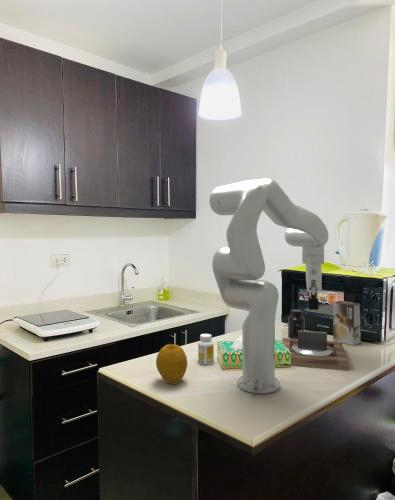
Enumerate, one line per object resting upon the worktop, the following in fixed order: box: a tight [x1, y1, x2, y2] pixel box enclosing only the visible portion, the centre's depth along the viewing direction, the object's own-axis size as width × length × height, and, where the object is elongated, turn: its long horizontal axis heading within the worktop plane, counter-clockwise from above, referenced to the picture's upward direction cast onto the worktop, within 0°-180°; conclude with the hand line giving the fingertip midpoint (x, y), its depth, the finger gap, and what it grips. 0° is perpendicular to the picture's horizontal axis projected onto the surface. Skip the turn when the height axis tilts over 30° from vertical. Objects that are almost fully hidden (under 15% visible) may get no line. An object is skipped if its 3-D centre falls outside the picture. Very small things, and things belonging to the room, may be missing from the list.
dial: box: [292, 330, 333, 357], centre depth 138 cm, size 14×14×8 cm
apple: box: [155, 343, 188, 384], centre depth 117 cm, size 10×10×12 cm
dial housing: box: [281, 337, 349, 371], centre depth 139 cm, size 22×22×3 cm
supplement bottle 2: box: [287, 308, 306, 339], centre depth 161 cm, size 7×7×12 cm
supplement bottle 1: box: [197, 333, 215, 366], centre depth 134 cm, size 5×5×10 cm
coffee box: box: [332, 300, 362, 346], centre depth 156 cm, size 9×6×16 cm
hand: (313, 306), depth 138 cm, fingers open, 9 cm apart
